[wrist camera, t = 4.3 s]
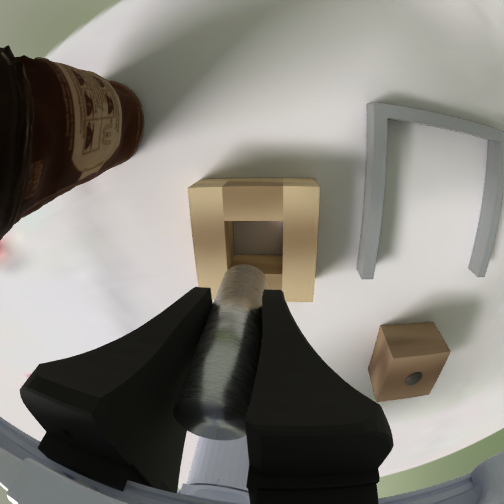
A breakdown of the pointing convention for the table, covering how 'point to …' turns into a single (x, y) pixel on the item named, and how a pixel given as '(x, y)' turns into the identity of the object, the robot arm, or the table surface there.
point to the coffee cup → (58, 131)
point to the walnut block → (406, 360)
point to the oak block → (257, 209)
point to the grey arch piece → (497, 175)
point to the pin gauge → (225, 359)
